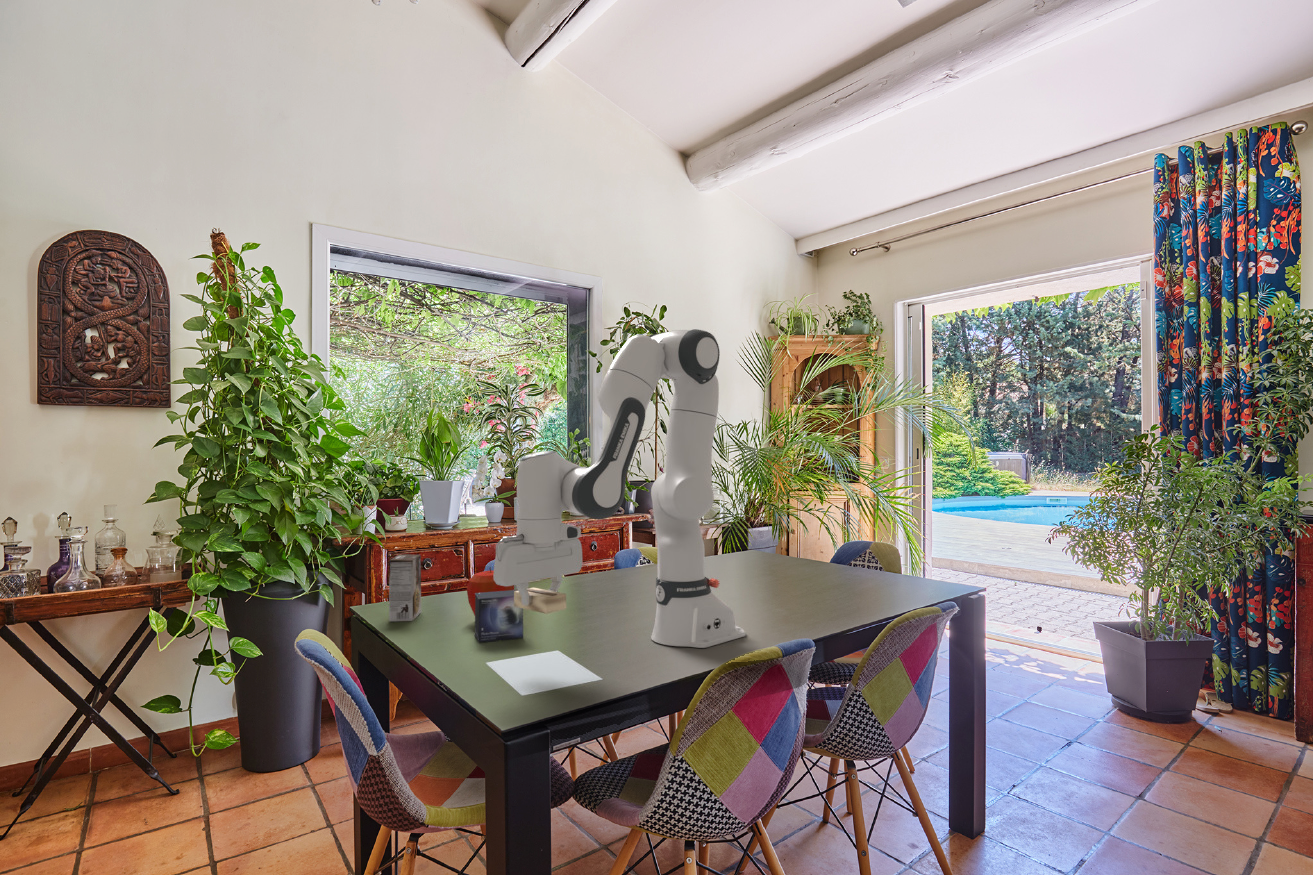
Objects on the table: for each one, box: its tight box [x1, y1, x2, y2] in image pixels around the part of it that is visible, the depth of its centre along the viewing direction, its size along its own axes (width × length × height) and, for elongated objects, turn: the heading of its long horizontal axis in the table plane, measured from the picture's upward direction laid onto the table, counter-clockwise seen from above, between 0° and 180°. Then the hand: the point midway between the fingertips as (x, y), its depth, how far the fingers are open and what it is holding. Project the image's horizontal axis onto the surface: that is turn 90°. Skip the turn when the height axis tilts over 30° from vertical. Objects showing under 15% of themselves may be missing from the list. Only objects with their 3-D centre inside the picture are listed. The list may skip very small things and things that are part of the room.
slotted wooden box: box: [514, 587, 567, 615], centre depth 135 cm, size 10×5×3 cm, turn 50°
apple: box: [466, 567, 515, 616], centre depth 175 cm, size 12×12×14 cm
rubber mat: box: [485, 650, 604, 696], centre depth 134 cm, size 16×22×1 cm
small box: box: [473, 589, 524, 644], centre depth 160 cm, size 11×6×10 cm, turn 114°
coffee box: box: [388, 554, 422, 622], centre depth 181 cm, size 9×6×16 cm
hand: (539, 601), depth 135 cm, fingers closed on slotted wooden box, 5 cm apart
